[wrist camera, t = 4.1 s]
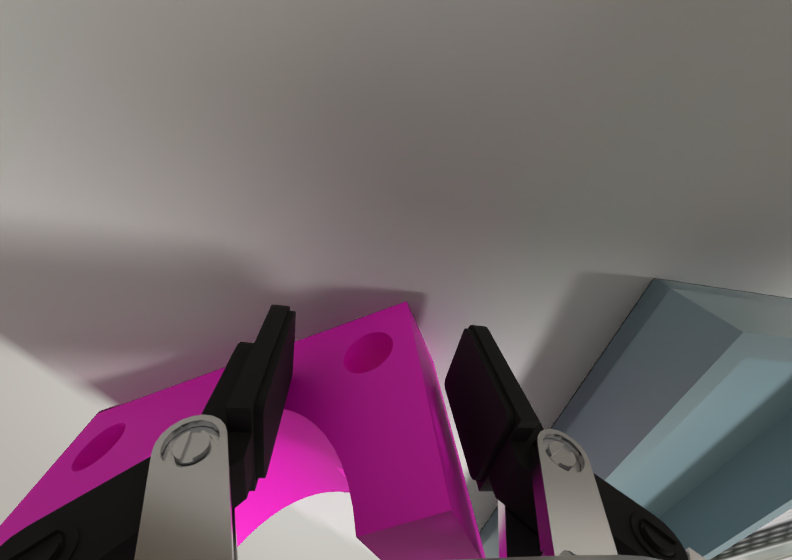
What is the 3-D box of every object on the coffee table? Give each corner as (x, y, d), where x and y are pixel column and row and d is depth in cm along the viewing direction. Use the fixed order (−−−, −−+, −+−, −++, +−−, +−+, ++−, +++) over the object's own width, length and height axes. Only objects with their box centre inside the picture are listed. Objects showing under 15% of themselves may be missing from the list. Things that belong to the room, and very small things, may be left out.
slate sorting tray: (888, 313, 15) (1018, 364, 12) (631, 530, 26) (666, 586, 23) (654, 278, 13) (743, 332, 10) (478, 534, 24) (495, 596, 21)
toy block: (192, 476, 17) (86, 704, 11) (99, 411, 14) (-129, 674, 8) (447, 393, 16) (506, 600, 9) (406, 299, 12) (451, 510, 6)
